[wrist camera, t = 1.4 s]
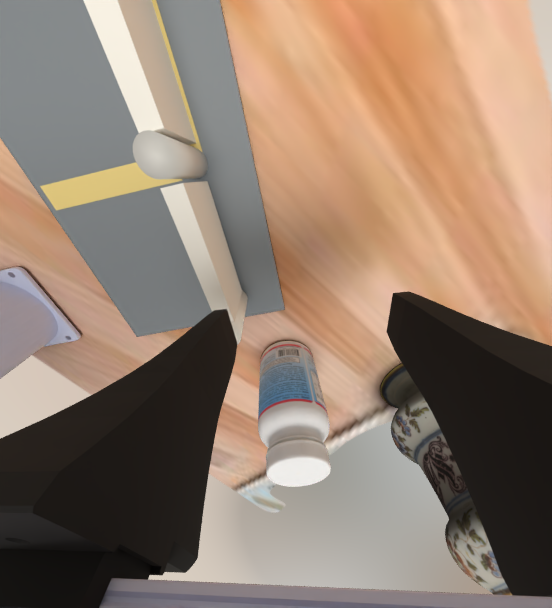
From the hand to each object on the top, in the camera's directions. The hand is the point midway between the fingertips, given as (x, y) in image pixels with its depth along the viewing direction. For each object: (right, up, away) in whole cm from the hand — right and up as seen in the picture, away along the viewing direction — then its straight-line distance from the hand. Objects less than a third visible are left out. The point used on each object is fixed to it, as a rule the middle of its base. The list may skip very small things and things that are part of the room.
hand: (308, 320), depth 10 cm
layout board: (-11, +9, +6) cm, 15 cm away
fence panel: (-6, +5, +8) cm, 11 cm away
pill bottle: (0, -6, +16) cm, 17 cm away
